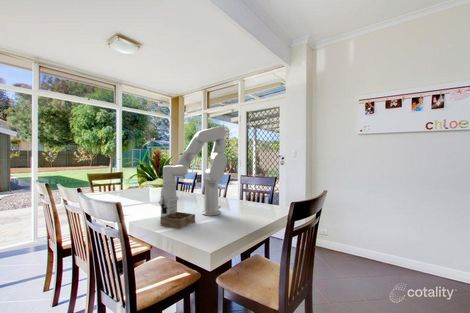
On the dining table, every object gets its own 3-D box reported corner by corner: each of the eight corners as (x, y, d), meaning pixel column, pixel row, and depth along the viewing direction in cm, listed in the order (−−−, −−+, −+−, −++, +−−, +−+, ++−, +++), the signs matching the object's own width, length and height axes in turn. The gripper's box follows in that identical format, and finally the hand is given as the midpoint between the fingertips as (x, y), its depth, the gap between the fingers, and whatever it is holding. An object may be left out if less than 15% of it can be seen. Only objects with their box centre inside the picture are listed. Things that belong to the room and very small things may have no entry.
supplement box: (160, 218, 140) (160, 198, 140) (168, 215, 146) (168, 196, 146) (169, 220, 136) (169, 199, 136) (177, 217, 143) (177, 197, 143)
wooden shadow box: (177, 218, 140) (177, 211, 140) (195, 221, 133) (195, 214, 133) (160, 224, 127) (160, 217, 127) (179, 228, 121) (179, 220, 121)
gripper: (174, 182, 151) (174, 208, 151) (154, 185, 135) (154, 214, 135) (182, 183, 147) (182, 209, 147) (163, 186, 132) (163, 216, 132)
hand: (169, 211), depth 141 cm, fingers closed on supplement box, 7 cm apart
